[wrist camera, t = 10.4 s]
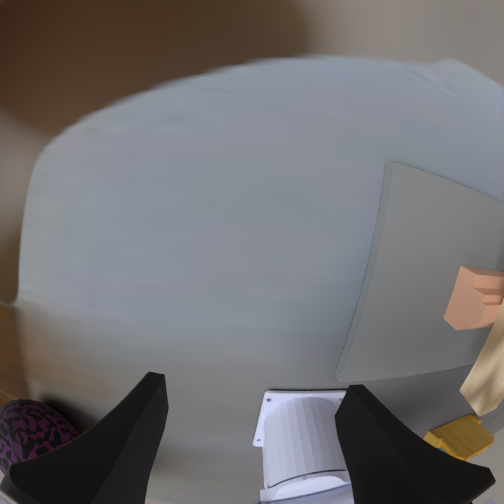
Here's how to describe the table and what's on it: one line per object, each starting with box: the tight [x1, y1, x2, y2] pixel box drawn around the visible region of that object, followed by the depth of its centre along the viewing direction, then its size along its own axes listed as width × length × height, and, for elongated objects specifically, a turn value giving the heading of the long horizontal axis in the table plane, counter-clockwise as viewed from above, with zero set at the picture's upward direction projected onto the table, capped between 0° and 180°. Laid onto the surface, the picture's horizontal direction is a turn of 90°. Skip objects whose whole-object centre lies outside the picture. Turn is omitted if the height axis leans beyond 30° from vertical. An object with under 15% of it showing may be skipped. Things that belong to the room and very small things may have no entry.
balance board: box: [335, 162, 504, 382], centre depth 17 cm, size 18×20×6 cm
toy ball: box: [0, 399, 80, 475], centre depth 18 cm, size 15×15×15 cm
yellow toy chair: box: [423, 414, 494, 461], centre depth 23 cm, size 10×10×9 cm
